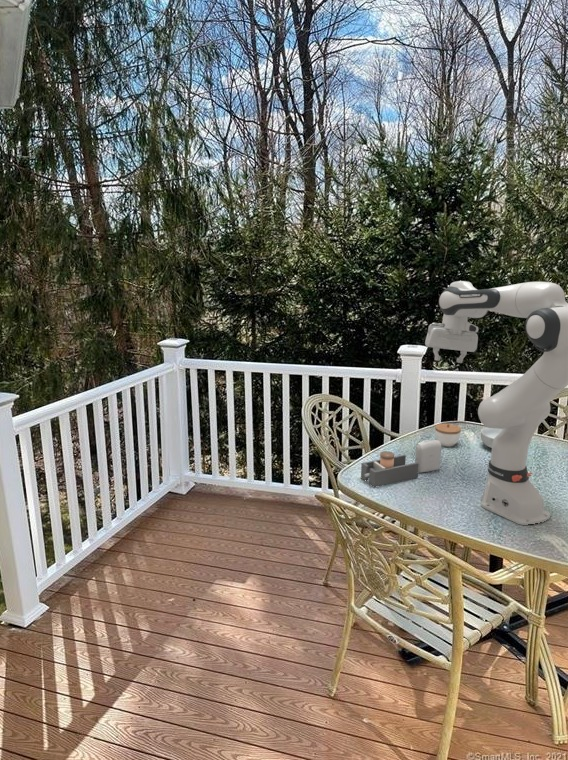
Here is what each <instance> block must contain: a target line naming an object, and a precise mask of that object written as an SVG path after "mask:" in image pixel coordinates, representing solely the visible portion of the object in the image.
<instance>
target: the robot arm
mask: <svg viewBox="0 0 568 760" xmlns="http://www.w3.org/2000/svg"><path fill="white" fill-rule="evenodd" d="M565 294H566V293H565V291H564V289H563V288H562V287H561V286H560V284H557V283H555V282H550V281H549V282H548V281H527V282H521V283H516V284H514V283H513V284H509V285H504V286H503V285H502V286H498V287H492V288H484V289H477V288H476V287H474V286H473V284H472V282H470V281H469V280H467V281H466V280H455V281H453V282H451V283H450V285H449V286H448V287H446V288H444V290H443V291H442V292H441V294H440V295H439V297H438V306H439V308H440V311H441V312H442V313H443V316H442V323H440V322H432V323H430V324H429V325H428V328H427V334H426V337H425V342H424V345H425V346H426V348H432V353H433V354H434V361H438V362H439V361H441V358H442V357H441V355H439V352H440V349H441V350H442V349H443V350H452V351H453V350H454V351H460V355H459V357H456V363H458V364H459V363H460V364H462V363H463V361H464V358H465V357H466V356H467V352H471V353H472V352H473V353H475V351H477V349H478V342H479V336H478V334H477V333H478V332H479V327H478V326H477V325H475V324H472V323H471V322H470V321H468V318H471V319H472V318H473V319H480V318H483V317H485V316H486V315H487V314H488V313H489V311H490V312H494V313H497V314H503V315H506V316H509V317H515V318H520V319H521V318H522V319H526V320H525V325H524V327H525V328H524V330H525V333H526V335H527V338H528V340H529V341H530V342H531V344H533V345H534V348H535V349H537V350H538V351H540V352H543V354H542V355H541V356H540V357H539V358H538V359H537V360H536V361H535V362H534V363H533V364H532V366H531V367H529V369H527V370H526V372H525V373H523V374H522V375H521V376H520V377H519V378H518V379H516V380H515V381H513V382H512V383H510V384H509V385H507V386H506V387H504V388H503V389H501V390H500V391H498V392H497V393H495V394H493V395H492V396H490V397H487V398H485V399H483V400H481V402H480V403H479V406H478V410H477V415H478V418H479V421H480V422H481V423H482V425H483V426H484V427H488V428H495V429H502V431H501V432H500V433H499V434H498V435H497V436H496V437H495V438H494V440H493V443H492V448H491V455H490V460H489V461H488V466H487V467H488V468H487V472H488V475H487V478H486V479H487V480H486V484H485V487H484V489H483V493H482V495H481V496H480V498H481V504H480V507H481V508H483V509H484V510H487V511H489V512H492V513H494V514H496V515H498V516H500V517H503V518H505V519H507V520H509V521H511V522H513V523H516V524H518V525H520V526H521V525H522V526H529V525H528V524H534V525H536V524H535V523H538V524H541V523H540V522H542V523H544V521H545V522H547V521H548V520H550V518H551V516H552V515H551V512H549V511H548V510H547V509H545V508H544V507H545V506H544V498H543V496H542V494H541V493H540V492H539V490H538V489H537V488H536V487H535V485H534V484H533V483H532V482H531V481H530V477H532V474H533V472H529V471H528V468H527V460H528V452H529V446H530V443H531V441H532V439H533V437H534V435H535V433H536V431H537V429H538V428H539V426H540V425H541V423H542V422H543V421H545V420H546V419H547V418H548V416H549V414H550V413H551V401H552V400H553V399H554V398H555V397H556V396H558V394H560V393H561V392H562V391H563V390H564V389H566V387H567V386H568V302H567V301H566V296H565ZM547 519H548V520H547ZM546 520H547V521H546Z"/></svg>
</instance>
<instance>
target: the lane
mask: <svg viewBox="0 0 568 760" xmlns="http://www.w3.org/2000/svg"><path fill="white" fill-rule="evenodd" d="M406 457H407V456H406V455H405V454H401V455H394V467H392V468H387V469H382V470H377V471H375V470H374V469H373V463H374V462H375V461H376V462H377V463H379V464H380V458H379V459H376V460H375V459H374V460H370V461H364V462H361V469H360V478H361V477H362V478H363V479H364V480H363V479H362V478H361V479H362V480H363V481H365V480H366V481H365V482H368V484H369V483H370V484H371V485H372V487H373V486H374V487H373V488H377V487H376V486H379V487H383V486H388V485H391V484H397V483H401V482H405V481H409V480H415V479H418V478H419V476H418V475H419V472H418V466H419V463H417V462H416V463H415V462H412V463H407V464H406ZM367 473H369V477H365V474H367ZM367 480H368V481H367ZM370 484H369V485H370ZM387 484H388V485H387ZM371 485H370V486H371ZM382 485H383V486H382Z"/></svg>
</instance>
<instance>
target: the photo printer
mask: <svg viewBox="0 0 568 760" xmlns="http://www.w3.org/2000/svg"><path fill="white" fill-rule="evenodd" d="M441 459H442V445H441V443H440V441H438V440H437V439H426V440H422V441H419V442H418V443H417V444H416V445H415V459H414V463H416V462H417V463H419V466H418V474H419V473H426V472H433V471H437V470H440V468H441Z"/></svg>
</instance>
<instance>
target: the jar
mask: <svg viewBox="0 0 568 760" xmlns="http://www.w3.org/2000/svg"><path fill="white" fill-rule="evenodd" d="M379 454H380V455H379V457H380V458H379V459H380V465H382V466H383V467H385V468H386V469H387V468H392V467H394V457H395V453H394V452H392V451H387V450H386V451H380V453H379Z"/></svg>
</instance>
